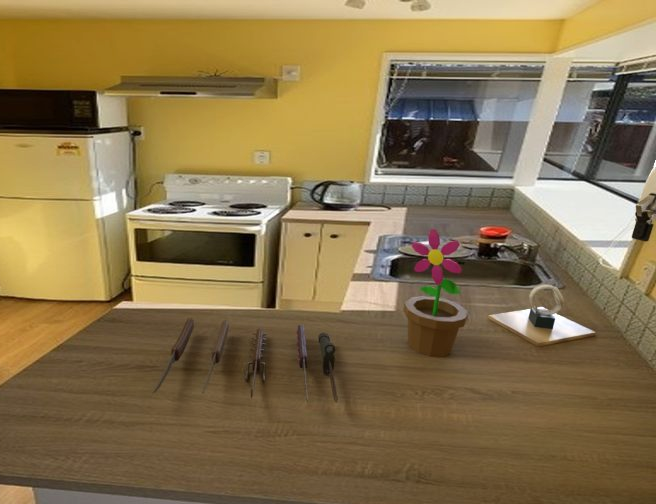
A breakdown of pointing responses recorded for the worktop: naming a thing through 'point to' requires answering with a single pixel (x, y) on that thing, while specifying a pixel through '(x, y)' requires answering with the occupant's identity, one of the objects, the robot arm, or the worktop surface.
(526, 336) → the board
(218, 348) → the knife set
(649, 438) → the worktop surface
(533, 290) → the watch
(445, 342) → the flowerpot
